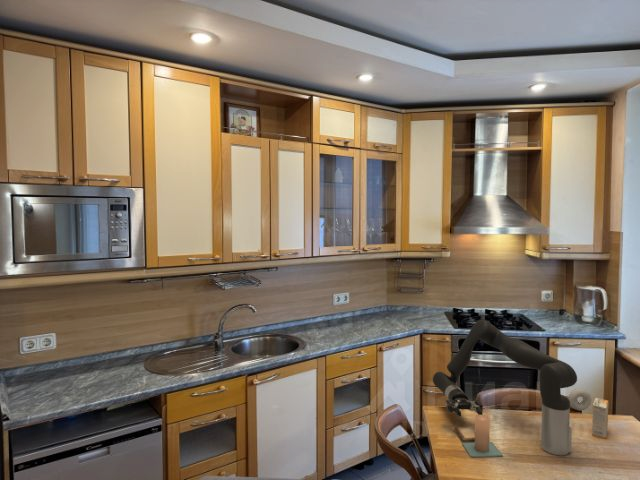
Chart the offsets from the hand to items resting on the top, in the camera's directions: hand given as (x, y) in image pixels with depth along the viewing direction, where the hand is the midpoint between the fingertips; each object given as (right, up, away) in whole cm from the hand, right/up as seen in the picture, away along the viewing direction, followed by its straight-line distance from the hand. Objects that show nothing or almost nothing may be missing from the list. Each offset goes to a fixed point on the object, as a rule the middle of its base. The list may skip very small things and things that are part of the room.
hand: (470, 414), depth 170 cm
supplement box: (+53, -9, +1) cm, 54 cm away
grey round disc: (+57, -7, +21) cm, 62 cm away
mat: (+1, -9, -10) cm, 14 cm away
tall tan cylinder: (+1, -9, -10) cm, 14 cm away
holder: (0, -9, 0) cm, 9 cm away
